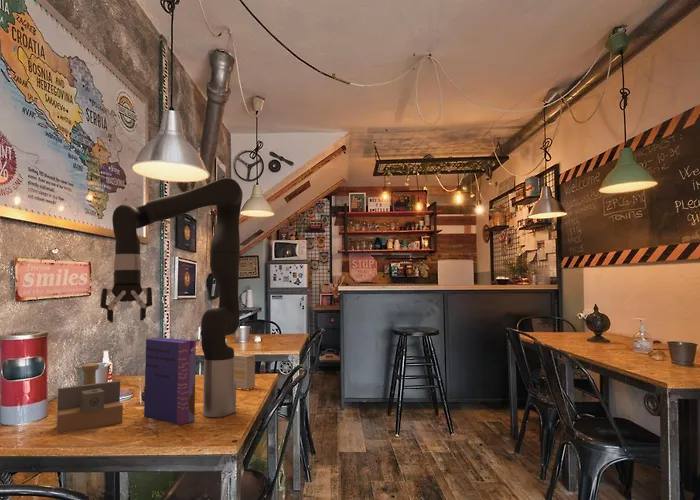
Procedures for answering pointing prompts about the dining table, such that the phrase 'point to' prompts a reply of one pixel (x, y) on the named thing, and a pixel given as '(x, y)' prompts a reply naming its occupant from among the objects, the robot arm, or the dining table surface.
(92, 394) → the dice cube
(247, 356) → the supplement box
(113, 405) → the board
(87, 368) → the handle
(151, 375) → the cereal box
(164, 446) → the dining table surface
